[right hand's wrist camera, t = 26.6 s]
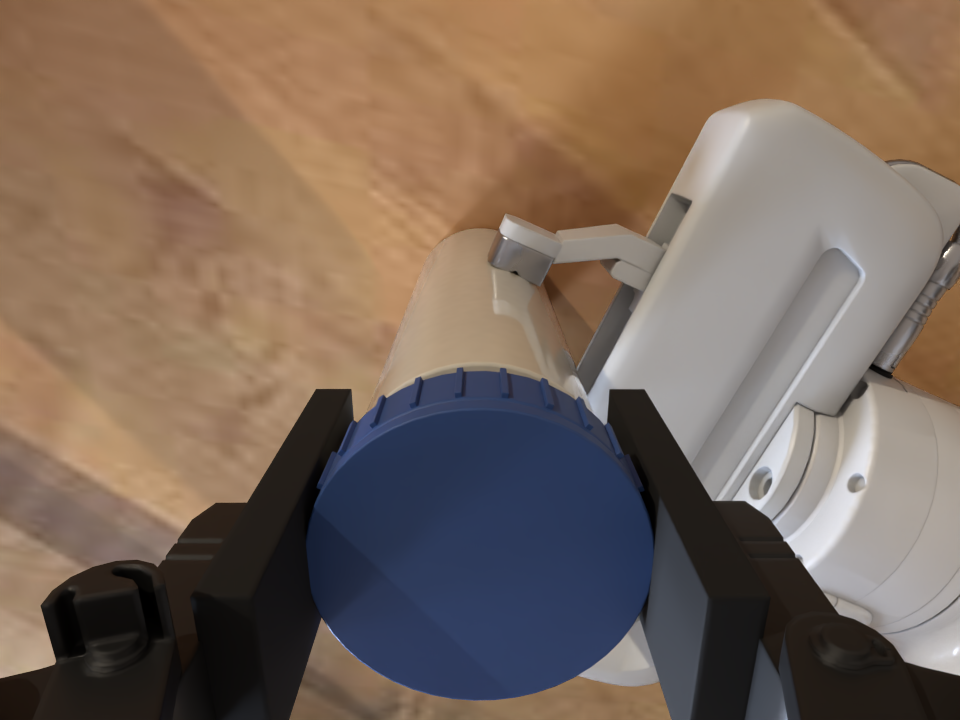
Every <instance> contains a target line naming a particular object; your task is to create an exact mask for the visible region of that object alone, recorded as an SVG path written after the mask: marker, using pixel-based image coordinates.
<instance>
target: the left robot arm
mask: <svg viewBox="0 0 960 720" xmlns="http://www.w3.org/2000/svg"><path fill="white" fill-rule="evenodd" d="M953 233H954V234H953ZM952 235H953V237H952V239H951V241H950V240H949V239H950V238H951V236H952ZM487 257H488V262H489V263H490V264H491V265H493V266H495V267H497V268H498V269H501V270H504V271H508V272H513V271H517V273H518V274H519V276H520V277H521V278H523V279H524V280H526V281H528V282H530V283H533V284H535V285H537V286H541V284H542V282H543V280H544V278H545V276H546V274H547V272H548V270H549V268H550V266H551V265H552V263H553V264H559V263H570V262H581V261H592V260H600V263H601V265H602V266H603V267H604V268H605V269H606V270H607V272H608V273H609V274H610V275H611V276H612V277H613V278H614V279H616V280H619V281H621V282H622V283H621V284H620V286H619V288H618V290H617V292H616V294H615V296H614V298H613V300H612V302H611V303H610V305H609V307H608V309H607V311H606V313H605V315H604V317H603V319H602V321H601V322H600V324H599V326H598V328H597V330H596V332H595V334H594V336H593V338H592V340H591V341H590V343H589V345H588V347H587V349H586V351H585V353H584V355H583V357H582V359H581V360H580V362H579V364H578V366H577V368H576V369H577V371H578V374H579V377H580V379H581V382H582V384H583V387H584V389H585V392H586V395H587V397H588V400H589V402H590V405H591V407H592V410H593V413H594V415H595V416H596V417H597V418H599V419H600V421H601V422H602V423H603V424H604V425H605V424H607V415H608V401H609V389H645V391H646V392H647V394H648V396H649V397H650V399H651V401H652V402H653V404H654V406H655V407H656V409H657V410H658V412H659V414H660V415H661V417H662V419H663V420H664V422H665V424H666V425H667V427H668V429H669V430H670V432H671V434H672V435H673V437H674V438H675V440H676V442H677V443H678V445H679V447H680V448H681V450H682V452H683V453H684V455H685V457H686V458H687V460H688V461H689V463H690V465H691V466H692V468H693V470H694V471H695V473H696V475H697V476H698V478H699V480H700V481H701V483H702V485H703V486H704V488H705V489H706V491H707V493H708V494H709V496H710V498H711V499H712V501H746V502H747V503H749V504H750V505H752V506H753V507H754V508H756V509H757V510H759V511H760V512H762V513H763V514H764V515H766V516H767V517H769V518H770V520H771V521H772V522H773V524H774V525H775V527H776V528H777V529H778V531H779V532H780V533H781V535H782V536H783V540H784V541H786V542H787V543H788V545H789V546H790V547H791V549H792V550H793V551H794V553H795V557H796V558H799V560H800V561H801V562H802V564H803V565H804V567H805V568H806V569H807V571H808V572H809V574H810V575H811V576H812V578H813V579H814V580H815V582H816V583H817V585H818V586H819V587H820V589H821V590H822V591H823V593H824V594H825V596H826V597H827V598H828V600H829V601H830V603H831V604H832V605H833V607H834V608H835V609H836V611H837V612H838V614H839V615H842V616H846V617H849V618H853V619H855V620H857V621H859V622H861V623H863V624H865V625H867V626H869V627H871V628H873V629H875V630H876V631H877V632H879V633H880V634H881V635H882V636H883V637H885V638H886V639H887V640H888V641H889V642H891V643H892V644H893V645H894V647H895V648H896V650H897V651H898V653H899V654H900V656H901V657H902V659H903V660H904V662H908V663H911V664H914V665H918V666H921V667H925V668H929V669H934V670H938V671H942V672H946V673H951V674H955V675H959V676H960V407H959V406H957V405H955V404H952V403H950V402H948V401H946V400H944V399H941V398H939V397H937V396H935V395H933V394H930V393H928V392H926V391H924V390H921V389H919V388H917V387H915V386H913V385H910V384H908V383H906V382H904V381H902V380H899V379H897V378H895V377H893V376H892V375H891V374H892V373H893V371H894V370H895V368H896V367H897V366H898V364H899V363H900V361H901V360H902V359H903V357H904V356H905V354H906V353H907V351H908V350H909V349H910V347H911V346H912V344H913V343H914V341H915V340H916V339H917V337H918V335H919V334H920V332H921V331H922V329H923V327H924V326H923V325H924V324H926V321H927V317H928V316H930V314H931V312H932V310H931V309H934V307H935V306H936V304H937V301H939V300H940V299H941V297H942V296H943V294H944V293H945V292H946V290H947V289H948V290H950V289H951V288H952V287H953V285H954V284H955V283H956V282H957V281H958V279H959V278H960V186H959V185H958V184H957V183H956V182H955V181H953V180H951V179H949V178H947V177H945V176H943V175H941V174H939V173H937V172H935V171H933V170H931V169H930V168H928V167H926V166H924V165H922V164H920V163H918V162H914V161H911V160H902V159H897V160H888V161H883V160H882V159H881V158H879V157H878V156H877V155H875V154H874V153H873V152H871V151H870V150H869V149H867V148H866V147H864V146H863V145H862V144H860V143H859V142H857V141H856V140H854V139H853V138H852V137H850V136H849V135H847V134H846V133H844V132H843V131H841V130H839V129H838V128H836V127H835V126H833V125H832V124H830V123H828V122H827V121H825V120H823V119H822V118H820V117H818V116H817V115H815V114H813V113H812V112H810V111H808V110H806V109H804V108H802V107H800V106H798V105H796V104H794V103H791V102H788V101H783V100H777V99H757V100H751V101H747V102H743V103H739V104H736V105H733V106H730V107H727V108H725V109H722V110H719V111H717V112H715V113H714V114H712V115H711V116H710V117H709V118H708V120H707V121H706V123H705V125H704V127H703V129H702V130H701V132H700V134H699V136H698V138H697V140H696V142H695V144H694V146H693V148H692V149H691V151H690V153H689V155H688V157H687V159H686V161H685V163H684V165H683V167H682V168H681V170H680V172H679V174H678V176H677V178H676V180H675V182H674V184H673V186H672V187H671V189H670V191H669V193H668V195H667V197H666V199H665V201H664V203H663V205H662V206H661V208H660V210H659V212H658V214H657V216H656V218H655V220H654V222H653V224H652V225H651V227H650V229H649V231H648V233H647V235H646V237H645V236H642V235H640V234H638V233H636V232H633V231H631V230H629V229H627V228H625V227H622V226H620V225H618V224H610V225H601V226H593V227H585V228H576V229H568V230H559V231H557V232H556V234H554V233H552V232H549V231H547V230H545V229H543V228H541V227H538V226H536V225H534V224H532V223H529V222H527V221H525V220H523V219H521V218H518V217H516V216H513V215H510V214H505V216H504V218H503V220H502V223H501V225H500V227H499V229H498V232H497V234H496V236H495V239H494V241H493V243H492V246H491V248H490V250H489V253H488V256H487ZM578 676H580V677H584V678H588V679H591V680H595V681H599V682H603V683H608V684H613V685H620V686H644V685H650V684H654V683H657V682H660V681H659V678H658V675H657V672H656V669H655V666H654V663H653V659H652V656H651V653H650V650H649V647H648V644H647V641H646V637H645V634H644V631H643V628H642V625H641V622H640V619H639V616H638V617H637V619H636V621H635V623H634V624H633V626H632V627H631V629H630V630H629V631H628V633H627V634H626V635H625V636H624V638H623V639H622V640H621V642H620V643H619V644H618V645H617V646H615V647H614V648H613V649H612V650H611V651H610V652H609V653H608V654H607V655H606V656H605V657H604V658H602V659H601V660H600V661H599V662H597V663H596V664H595V665H593V666H592V667H591V668H589V669H587V670H586V671H584V672H583V673H581V674H579V675H578Z"/></svg>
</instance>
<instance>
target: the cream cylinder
mask: <svg viewBox="0 0 960 720" xmlns="http://www.w3.org/2000/svg"><path fill="white" fill-rule="evenodd" d="M497 232H498V231H496V230H492V229H486V228H475V229H468V230H464V231H460V232H458V233H455V234H453V235H451V236H449V237H447V238H446V239H444V240H443V241H442V242H440V243H439V244H438V245H437V246H436V247H435V248H434V249H433V250H432V252H431V253H430V254H429V256H428V257H427V259H426V261H425V263H424V265H423V268H422V270H421V273H420V275H419V278H418V281H417V283H416V286H415V288H414V291H413V293H412V296H411V299H410V301H409V304H408V306H407V309H406V312H405V314H404V317H403V319H402V322H401V324H400V327H399V330H398V332H397V335H396V337H395V340H394V342H393V345H392V348H391V350H390V353H389V355H388V358H387V360H386V363H385V366H384V368H383V371H382V373H381V376H380V378H379V381H378V384H377V386H376V389H375V391H374V394H373V397H372V399H371V402H370V404H369V407H368V409H367V412H368V411H370V410H371V409H372V408H374V407H375V406H376V404H377V401H378V399H379V397H380V396H382V395H384V396H385V397H386V398H387V397H389V396H391V395H392V394H394V393H396V392H397V391H399V390H401V389H403V388H405V387H407V386H410V385H412V384H414V382H415V378H417V377H420V376H421V377H422V380H425V379H429V378H432V377H436V376H440V375H444V374H450V373H456V371H457V368H461V367H463V370H464V371H493V372H500V368H506V369H507V373H510V374H515V375H519V376H524V377H528V378H531V379H534V380H537V381H540V380H541V378H545V379H547V380H548V383H549V385H550V386H552V387H554V388H556V389H558V390H560V391H562V392H564V393H566V394H568V395H570V396H571V397H572V398H574V399H575V400H576V399H577V398H578V397H581V398H582V399H583V400H584V402H585V405H586V407H587V408H588V409H589V410H590V411H591V412H592V413H593V410H592V407H591V405H590V402H589V400H588V397H587V395H586V392H585V389H584V387H583V384H582V382H581V379H580V377H579V374H578V371H577V369H576V366H575V364H574V361H573V358H572V356H571V353H570V351H569V348H568V346H567V343H566V340H565V338H564V335H563V333H562V330H561V327H560V325H559V322H558V320H557V317H556V315H555V312H554V309H553V307H552V304H551V302H550V299H549V297H548V294H547V291H546V289H545V286H544V284H543V282H542V284H541V286H537V285H535V284H533V283H530V282H528V281H526V280H524V279H523V278H521V277H520V276H519V274H518V273H517V271H513V272H508V271H504V270H501V269H498V268H497V267H495V266H493V265H491V264H490V263H489V262H488V257H487V256H488V253H489V250H490V248H491V246H492V243H493V241H494V239H495V236H496V234H497ZM367 412H366V413H367ZM593 414H594V413H593Z"/></svg>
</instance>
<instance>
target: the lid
mask: <svg viewBox="0 0 960 720" xmlns="http://www.w3.org/2000/svg"><path fill="white" fill-rule="evenodd" d="M316 488H318V489H320V493H319V495H318V497H317V500H316V502H315V504H314V507H313V510H312V513H311V516H310V519H309V522H308V527H307V533H306V550H307V559H308V569H309V578H310V587H311V594H312V597H313V600H314V602H315V604H316V606H317V609H318V611H319V613H320V615H321V617H322V618H323V620H324V621H325V623H326V624H327V626H328V628H329V629H330V631H331V632H332V633H333V635H334V636H335V637H336V638H337V639H338V640H339V641H340V643H341V644H342V645H343V646H344V647H345V648H346V649H347V650H348V651H349V652H350V653H352V654H353V655H354V656H355V657H356V658H357V659H358V660H359V661H361V662H362V663H364V664H365V665H367V666H368V667H369V668H371V669H372V670H374V671H375V672H377V673H379V674H380V675H382V676H384V677H386V678H388V679H390V680H392V681H393V682H396V683H398V684H401V685H403V686H406V687H408V688H411V689H413V690H417V691H420V692H423V693H427V694H430V695H435V696H440V697H446V698H451V699H462V700H499V699H507V698H515V697H520V696H524V695H529V694H533V693H537V692H540V691H543V690H546V689H549V688H552V687H555V686H557V685H559V684H561V683H564V682H566V681H568V680H570V679H572V678H574V677H576V676H578V675H579V674H581V673H583V672H584V671H586V670H587V669H589V668H591V667H592V666H593V665H595V664H596V663H597V662H599V661H600V660H601V659H602V658H604V657H605V656H606V655H607V654H608V653H609V652H610V651H611V650H612V649H613V648H614V647H615V646H617V645H618V644H619V643H620V642H621V640H622V639H623V638H624V636H625V635H626V634H627V633H628V631H629V630H630V629H631V627H632V626H633V624H634V623H635V621H636V619H637V617H638V616H639V614H640V612H641V611H642V609H643V606H644V604H645V601H646V599H647V596H648V593H649V590H650V583H651V575H652V566H653V556H654V533H653V529H652V525H651V521H650V517H649V513H648V511H647V509H646V506H645V504H644V501H643V499H642V497H641V494H640V492H643V491H644V488H643V485H642V483H641V481H640V479H639V476H638V474H637V472H636V470H635V467H634V465H633V463H632V461H631V458H630V456H629V454H627V455H625V456H624V454H623V452H622V449H621V447H620V445H619V442H618V440H617V438H616V435H615V433H614V431H613V428H612V426H611V425H610V424H609V423H607V424H605V425H604V424H603V423H602V422H601V421H600V419H599V418H597V417H596V416H595V415H594V414H593V413H592V412H591V411H590V410H589V409H588V408H587V407H586V405H585V402H584V400H583V399H582V398H581V397H578V398H577V399H576V400H575V399H574V398H572V397H571V396H570V395H568V394H566V393H564V392H562V391H560V390H558V389H556V388H554V387H552V386H550V385H549V383H548V380H547V379H545V378H541V380H540V381H537V380H534V379H531V378H528V377H524V376H519V375H515V374H510V373H507V369H506V368H500V372H493V371H464V370H463V367H461V368H457V371H456V373H450V374H444V375H440V376H436V377H432V378H429V379H425V380H422V377H421V376H420V377H417V378H415V382H414V384H412V385H410V386H407V387H405V388H403V389H401V390H399V391H397V392H396V393H394V394H392V395H391V396H389V397H387V398H386V397H385V396H384V395H382V396H380V397H379V399H378V401H377V404H376V406H375V407H374V408H372V409H371V410H370V411H368V412H367V413H366V414H365V415H364V416H363V417H362V419H361V420H360V421H359V422H358V423H357V422H355V421H354V420H353V421H352V422H351V423H350V425H349V428H348V430H347V432H346V435H345V437H344V439H343V442H342V444H341V446H340V448H339V450H338V452H337V453H336V452H332V453H331V455H330V458H329V460H328V462H327V464H326V467H325V469H324V471H323V473H322V476H321V478H320V480H319V482H318V485H317V487H316Z"/></svg>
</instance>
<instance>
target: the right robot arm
mask: <svg viewBox="0 0 960 720" xmlns="http://www.w3.org/2000/svg"><path fill="white" fill-rule="evenodd" d="M353 420H354V419H353V405H352V392H351V389H316V390H315V392H314V394H313V395H312V397H311V398H310V400H309V402H308V403H307V405H306V407H305V408H304V410H303V412H302V413H301V415H300V417H299V418H298V420H297V422H296V423H295V425H294V426H293V428H292V430H291V431H290V433H289V435H288V436H287V438H286V440H285V441H284V443H283V445H282V446H281V448H280V450H279V451H278V453H277V454H276V456H275V458H274V459H273V461H272V463H271V464H270V466H269V468H268V469H267V471H266V473H265V474H264V476H263V478H262V479H261V481H260V482H259V484H258V486H257V487H256V489H255V491H254V492H253V494H252V496H251V497H250V499H249V501H248V502H247V503H215V504H214V505H212V506H211V507H210V508H208V509H207V510H205V511H204V512H202V513H201V514H200V515H198V516H197V517H195V518H194V519H193V520H192V521H191V522H190V523H189V525H188V526H187V528H186V529H185V530H184V532H183V533H182V534H181V536H180V537H179V539H178V543H177V544H174V546H173V547H172V548H171V550H170V551H169V553H168V554H167V555H166V560H163V561H162V562H161V564H160V565H159V566H158V567H157V566H155V565H154V564H152V563H148V562H144V561H140V560H126V561H114V562H110V563H107V564H103V565H99V566H95V567H92V568H90V569H88V570H85V571H83V572H81V573H79V574H77V575H75V576H72V577H70V578H69V579H68V580H66V581H65V582H64V583H62V584H61V585H59V586H58V587H57V588H55V589H54V590H53V591H52V592H51V593H50V594H49V596H48V597H47V598H46V599H45V601H44V602H43V603H42V604H41V609H42V612H43V616H44V619H45V623H46V626H47V630H48V633H49V637H50V640H51V644H52V647H53V651H54V654H55V658H56V663H55V665H52V666H49V667H46V668H42V669H39V670H35V671H30V672H26V673H22V674H18V675H13V676H9V677H5V678H0V720H289V718H290V715H291V712H292V709H293V706H294V702H295V699H296V696H297V693H298V690H299V687H300V684H301V680H302V677H303V674H304V671H305V668H306V665H307V662H308V658H309V655H310V652H311V649H312V646H313V643H314V640H315V636H316V633H317V630H318V627H319V624H320V621H321V618H322V617H321V615H320V613H319V611H318V609H317V606H316V604H315V602H314V600H313V597H312V594H311V587H310V578H309V569H308V559H307V550H306V533H307V527H308V522H309V519H310V516H311V513H312V510H313V507H314V504H315V502H316V500H317V497H318V495H319V493H320V489H318V488H316V487H317V485H318V482H319V480H320V478H321V476H322V473H323V471H324V469H325V467H326V464H327V462H328V460H329V458H330V455H331V453H332V452H336V453H337V452H338V450H339V448H340V446H341V444H342V442H343V439H344V437H345V435H346V432H347V430H348V428H349V425H350V423H351V422H352V421H353ZM607 423H609V424H610V425H611V426H612V428H613V431H614V433H615V435H616V438H617V440H618V442H619V445H620V447H621V449H622V452H623V454H624V456H625V455H627V454H629V456H630V458H631V461H632V463H633V465H634V467H635V470H636V472H637V474H638V476H639V479H640V481H641V483H642V485H643V488H644V491H643V492H640V494H641V497H642V499H643V501H644V504H645V506H646V509H647V511H648V513H649V517H650V521H651V525H652V529H653V533H654V556H653V566H652V575H651V583H650V590H649V593H648V596H647V599H646V601H645V604H644V606H643V609H642V611H641V612H640V614H639V619H640V622H641V625H642V628H643V631H644V634H645V637H646V641H647V644H648V647H649V650H650V653H651V656H652V659H653V663H654V666H655V669H656V672H657V675H658V678H659V681H660V685H661V688H662V691H663V694H664V697H665V700H666V703H667V707H668V710H669V713H670V716H671V719H672V720H960V676H959V675H955V674H951V673H946V672H942V671H938V670H934V669H929V668H925V667H921V666H918V665H914V664H911V663H908V662H904V660H903V659H902V657H901V656H900V654H899V653H898V651H897V650H896V648H895V647H894V645H893V644H892V643H891V642H889V641H888V640H887V639H886V638H885V637H883V636H882V635H881V634H880V633H879V632H877V631H876V630H875V629H873V628H871V627H869V626H867V625H865V624H863V623H861V622H859V621H857V620H855V619H853V618H849V617H846V616H842V615H839V614H838V612H837V611H836V609H835V608H834V607H833V605H832V604H831V603H830V601H829V600H828V598H827V597H826V596H825V594H824V593H823V591H822V590H821V589H820V587H819V586H818V585H817V583H816V582H815V580H814V579H813V578H812V576H811V575H810V574H809V572H808V571H807V569H806V568H805V567H804V565H803V564H802V562H801V561H800V560H799V558H796V557H795V553H794V551H793V550H792V549H791V547H790V546H789V545H788V543H787V542H786V541H784V540H783V536H782V535H781V533H780V532H779V531H778V529H777V528H776V527H775V525H774V524H773V522H772V521H771V520H770V518H769V517H767V516H766V515H764V514H763V513H762V512H760V511H759V510H757V509H756V508H754V507H753V506H752V505H750V504H749V503H747V502H746V501H712V499H711V498H710V496H709V494H708V493H707V491H706V489H705V488H704V486H703V485H702V483H701V481H700V480H699V478H698V476H697V475H696V473H695V471H694V470H693V468H692V466H691V465H690V463H689V461H688V460H687V458H686V457H685V455H684V453H683V452H682V450H681V448H680V447H679V445H678V443H677V442H676V440H675V438H674V437H673V435H672V434H671V432H670V430H669V429H668V427H667V425H666V424H665V422H664V420H663V419H662V417H661V415H660V414H659V412H658V410H657V409H656V407H655V406H654V404H653V402H652V401H651V399H650V397H649V396H648V394H647V392H646V391H645V389H609V401H608V415H607Z"/></svg>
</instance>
